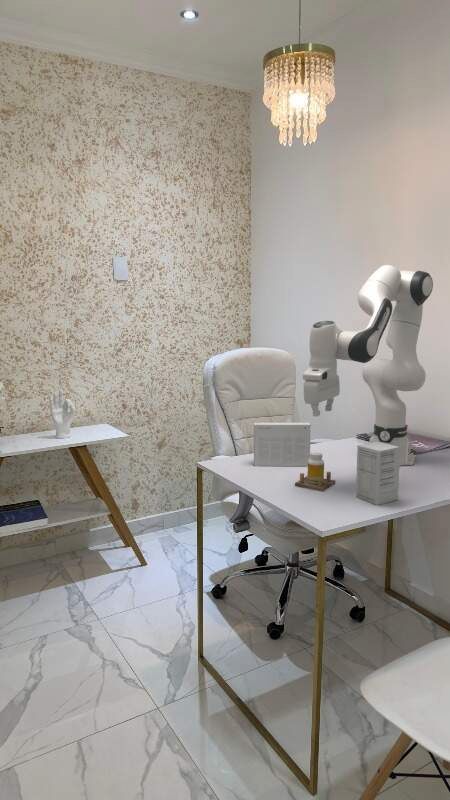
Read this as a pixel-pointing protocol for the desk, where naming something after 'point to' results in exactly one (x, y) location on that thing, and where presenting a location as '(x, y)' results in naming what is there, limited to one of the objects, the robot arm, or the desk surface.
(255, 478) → the desk surface
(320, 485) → the pin stand
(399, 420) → the robot arm
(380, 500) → the supplement box
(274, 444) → the skincare box
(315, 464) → the supplement bottle
